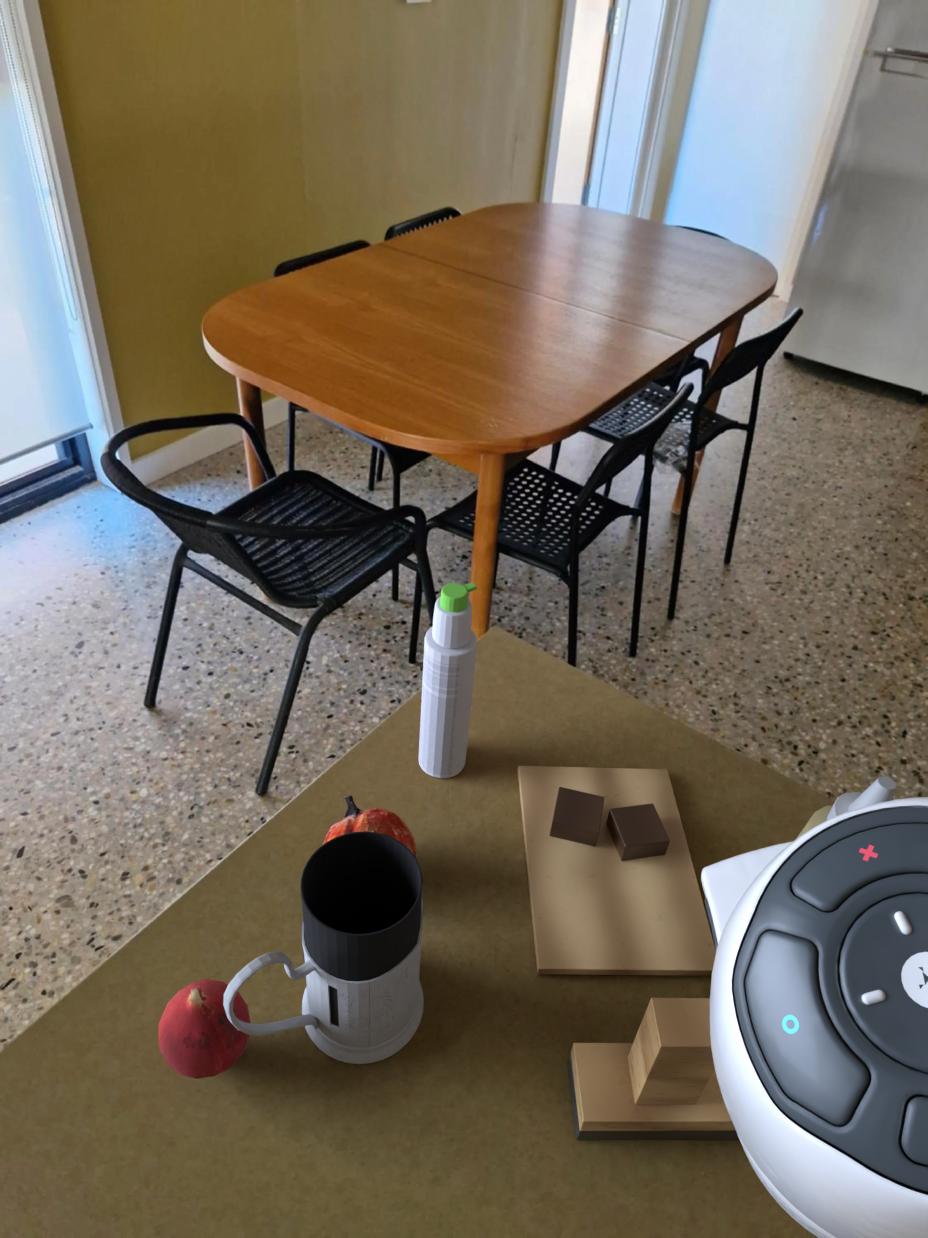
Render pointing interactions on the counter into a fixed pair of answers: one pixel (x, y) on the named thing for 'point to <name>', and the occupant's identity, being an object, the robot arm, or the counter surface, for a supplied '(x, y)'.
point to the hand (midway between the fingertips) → (846, 1139)
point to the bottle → (447, 683)
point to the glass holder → (354, 950)
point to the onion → (202, 1030)
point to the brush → (652, 1080)
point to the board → (611, 883)
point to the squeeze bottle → (854, 802)
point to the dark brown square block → (637, 832)
